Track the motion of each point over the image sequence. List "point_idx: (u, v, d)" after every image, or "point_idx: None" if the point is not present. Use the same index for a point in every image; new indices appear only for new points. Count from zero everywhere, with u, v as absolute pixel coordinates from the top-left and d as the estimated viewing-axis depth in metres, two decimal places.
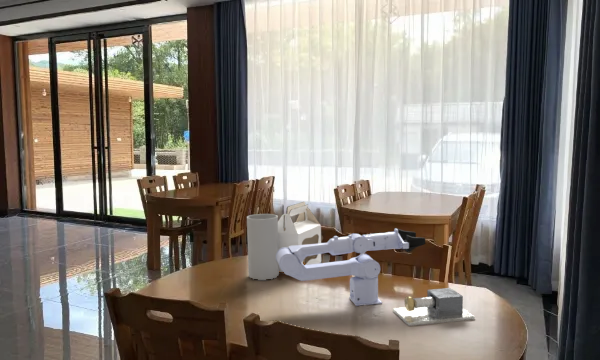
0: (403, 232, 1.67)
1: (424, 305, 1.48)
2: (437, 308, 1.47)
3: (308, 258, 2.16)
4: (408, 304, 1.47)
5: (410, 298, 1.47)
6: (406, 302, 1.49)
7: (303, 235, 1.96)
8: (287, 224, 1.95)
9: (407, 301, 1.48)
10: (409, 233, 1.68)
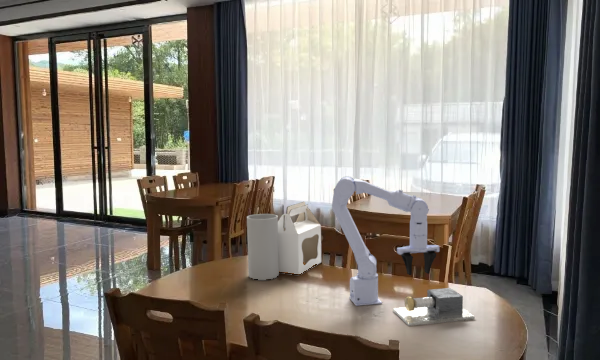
0: (428, 260, 1.58)
1: (424, 305, 1.48)
2: (437, 308, 1.47)
3: (308, 258, 2.16)
4: (408, 304, 1.47)
5: (410, 298, 1.47)
6: (406, 302, 1.49)
7: (303, 235, 1.96)
8: (287, 224, 1.95)
9: (407, 301, 1.48)
10: (427, 266, 1.59)
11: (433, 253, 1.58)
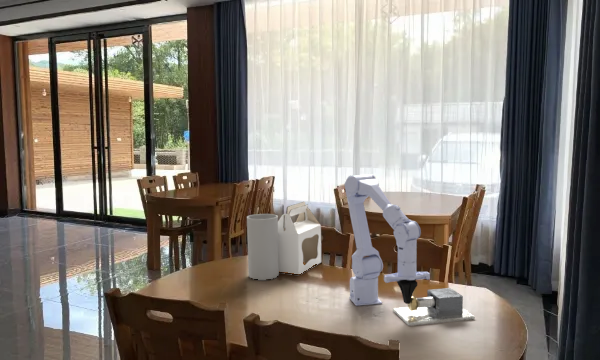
0: (409, 289, 1.46)
1: (427, 305, 1.48)
2: (437, 308, 1.47)
3: (308, 258, 2.16)
4: (410, 304, 1.47)
5: (413, 298, 1.47)
6: None
7: (303, 235, 1.96)
8: (287, 224, 1.95)
9: (410, 301, 1.48)
10: None
11: (414, 282, 1.46)
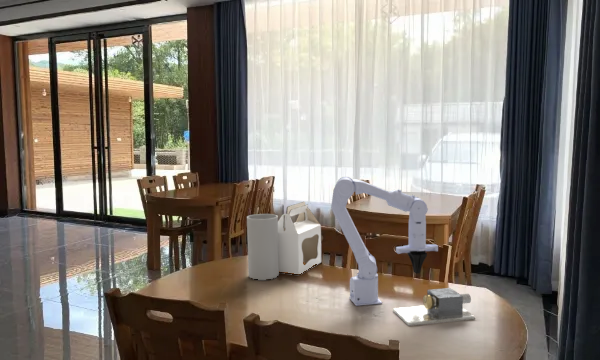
0: (419, 260, 1.59)
1: None
2: (437, 308, 1.47)
3: (308, 258, 2.16)
4: (427, 303, 1.49)
5: (429, 296, 1.48)
6: (425, 300, 1.50)
7: (303, 235, 1.96)
8: (287, 224, 1.95)
9: (426, 299, 1.49)
10: (418, 266, 1.60)
11: (424, 253, 1.58)
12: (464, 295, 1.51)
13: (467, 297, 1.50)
